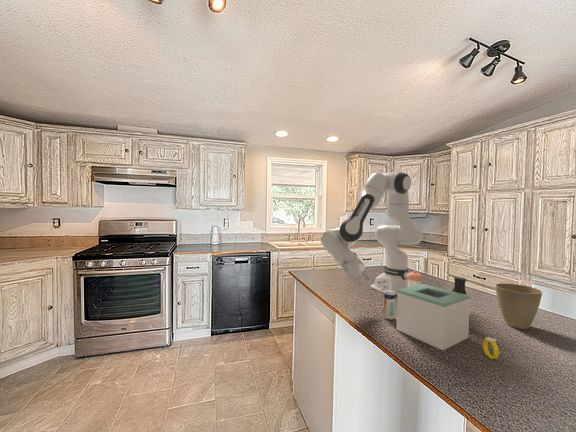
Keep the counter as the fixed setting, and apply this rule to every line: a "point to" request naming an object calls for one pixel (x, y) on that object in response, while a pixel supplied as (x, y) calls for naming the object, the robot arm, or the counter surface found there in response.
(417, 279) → the pepper shaker
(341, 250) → the robot arm
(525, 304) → the plant pot
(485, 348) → the watch
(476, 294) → the counter surface
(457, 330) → the recycling bin
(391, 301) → the beer can
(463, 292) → the sauce bottle
